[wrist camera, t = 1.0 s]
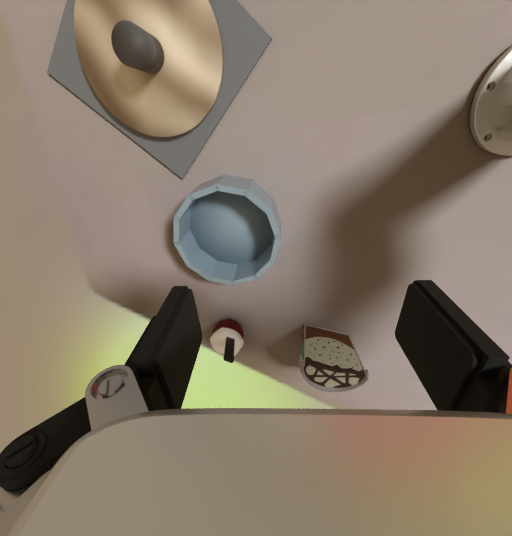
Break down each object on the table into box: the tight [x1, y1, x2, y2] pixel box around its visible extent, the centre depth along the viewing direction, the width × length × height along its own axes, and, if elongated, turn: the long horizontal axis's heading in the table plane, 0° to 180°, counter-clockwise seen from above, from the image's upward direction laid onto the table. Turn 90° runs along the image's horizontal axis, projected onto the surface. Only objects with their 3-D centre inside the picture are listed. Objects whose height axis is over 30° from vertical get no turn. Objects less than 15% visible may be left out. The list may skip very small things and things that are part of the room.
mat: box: [47, 0, 272, 179], centre depth 30 cm, size 20×20×1 cm
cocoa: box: [210, 319, 244, 363], centre depth 47 cm, size 10×6×12 cm, turn 134°
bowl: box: [173, 175, 281, 286], centre depth 38 cm, size 15×15×6 cm
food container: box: [299, 324, 369, 392], centre depth 48 cm, size 12×6×10 cm, turn 77°
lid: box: [74, 0, 224, 137], centre depth 28 cm, size 17×17×6 cm
